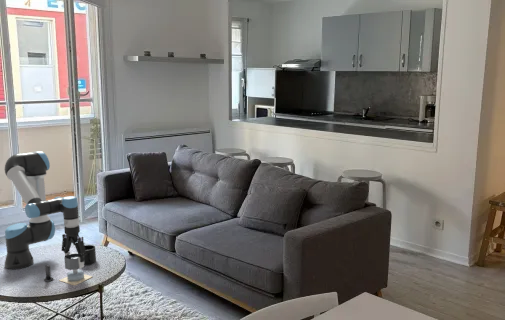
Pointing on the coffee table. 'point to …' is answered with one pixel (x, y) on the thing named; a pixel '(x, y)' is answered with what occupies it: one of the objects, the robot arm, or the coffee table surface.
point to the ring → (71, 261)
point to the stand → (48, 274)
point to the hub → (75, 277)
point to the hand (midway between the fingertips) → (75, 265)
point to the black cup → (90, 255)
